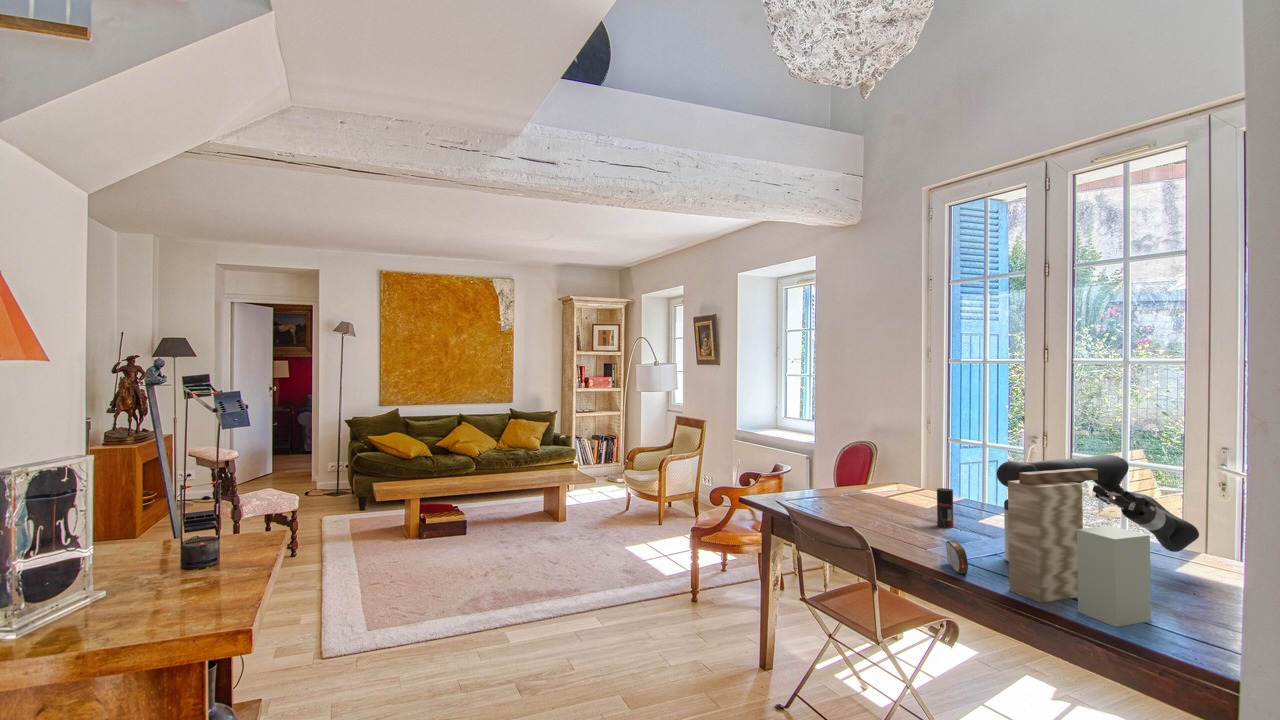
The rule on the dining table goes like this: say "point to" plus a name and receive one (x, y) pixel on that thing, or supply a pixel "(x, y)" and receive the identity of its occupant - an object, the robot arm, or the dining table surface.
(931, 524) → the dining table surface
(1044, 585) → the stand
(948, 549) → the tin
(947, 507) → the deodorant
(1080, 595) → the green plinth
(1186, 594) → the dining table surface
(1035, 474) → the walnut bar
